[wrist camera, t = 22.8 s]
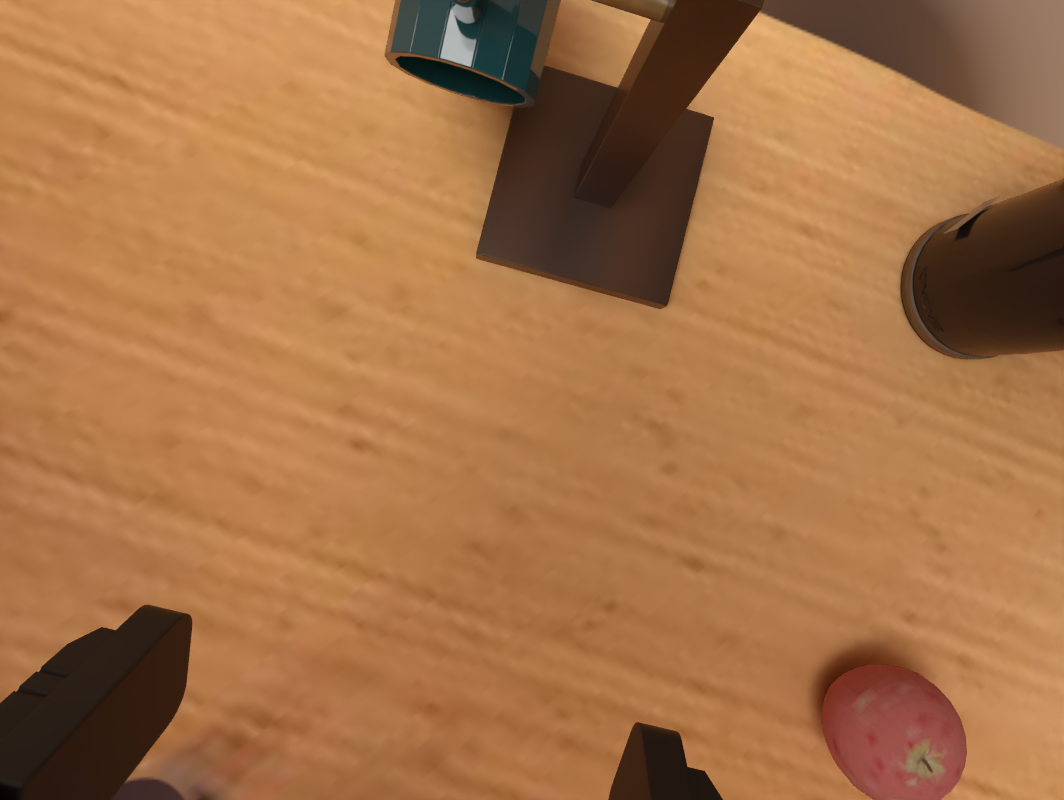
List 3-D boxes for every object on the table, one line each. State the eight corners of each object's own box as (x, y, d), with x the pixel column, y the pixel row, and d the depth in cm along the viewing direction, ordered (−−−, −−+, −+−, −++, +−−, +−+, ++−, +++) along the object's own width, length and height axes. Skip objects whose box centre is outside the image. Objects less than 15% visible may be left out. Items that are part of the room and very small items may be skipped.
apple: (811, 772, 43) (889, 858, 35) (786, 663, 42) (859, 725, 34) (915, 741, 43) (1016, 818, 35) (891, 633, 43) (987, 686, 35)
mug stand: (705, 127, 42) (966, -171, 20) (660, 309, 42) (873, 210, 20) (433, 44, 40) (390, -381, 18) (384, 233, 40) (281, 32, 18)
